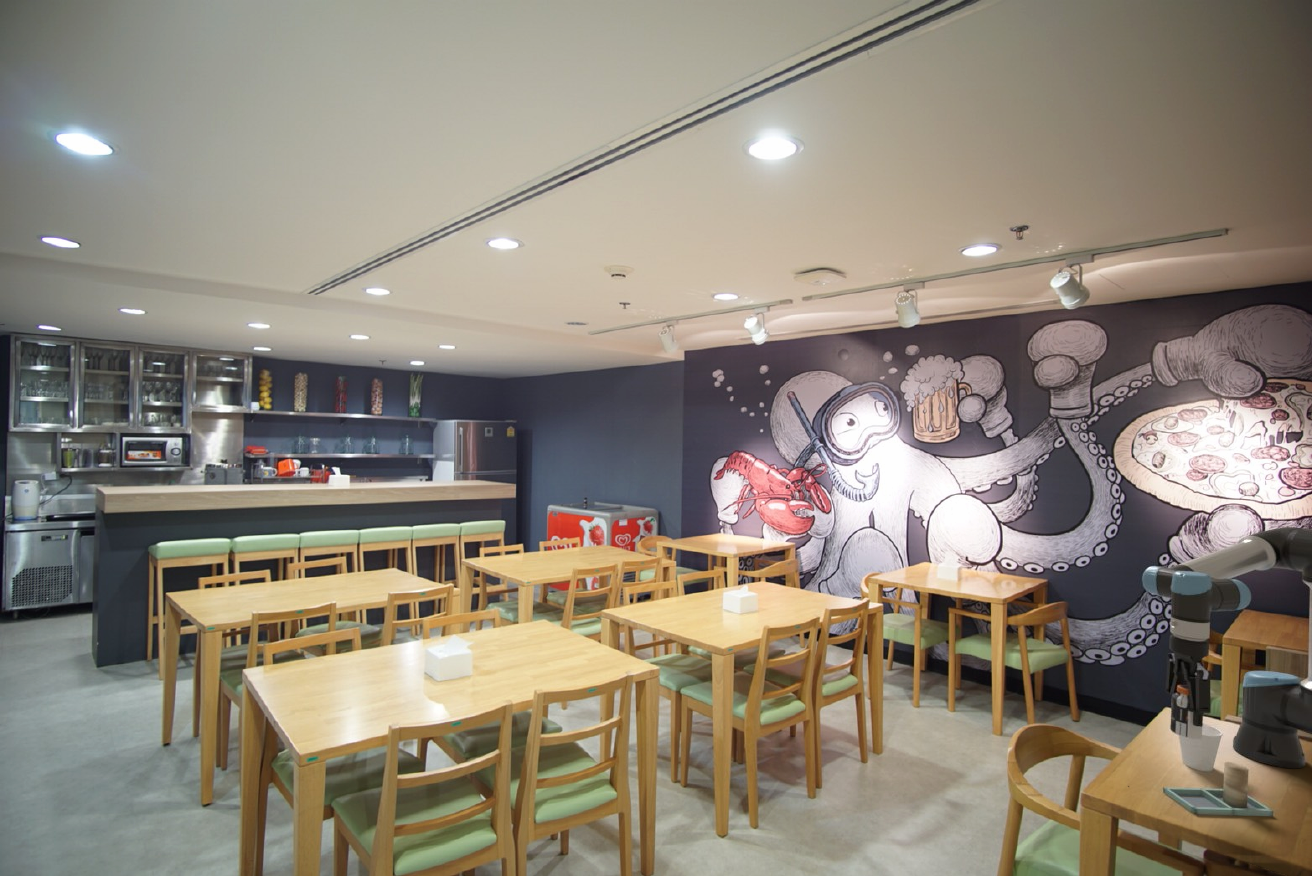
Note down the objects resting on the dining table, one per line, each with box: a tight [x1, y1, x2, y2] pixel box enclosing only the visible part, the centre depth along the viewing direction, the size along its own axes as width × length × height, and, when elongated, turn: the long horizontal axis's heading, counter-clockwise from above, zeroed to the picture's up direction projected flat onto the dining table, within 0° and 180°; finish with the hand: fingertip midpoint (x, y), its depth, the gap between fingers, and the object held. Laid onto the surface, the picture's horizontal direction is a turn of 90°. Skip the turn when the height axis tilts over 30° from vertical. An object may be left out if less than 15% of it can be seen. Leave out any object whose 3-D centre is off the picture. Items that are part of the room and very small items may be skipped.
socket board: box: [1162, 786, 1274, 817], centre depth 164 cm, size 18×10×2 cm, turn 90°
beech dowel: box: [1222, 761, 1249, 808], centre depth 164 cm, size 4×4×9 cm
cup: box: [1178, 722, 1224, 772], centre depth 183 cm, size 10×10×11 cm
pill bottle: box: [1170, 685, 1191, 738], centre depth 166 cm, size 6×6×11 cm
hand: (1185, 731), depth 166 cm, fingers closed on pill bottle, 6 cm apart
